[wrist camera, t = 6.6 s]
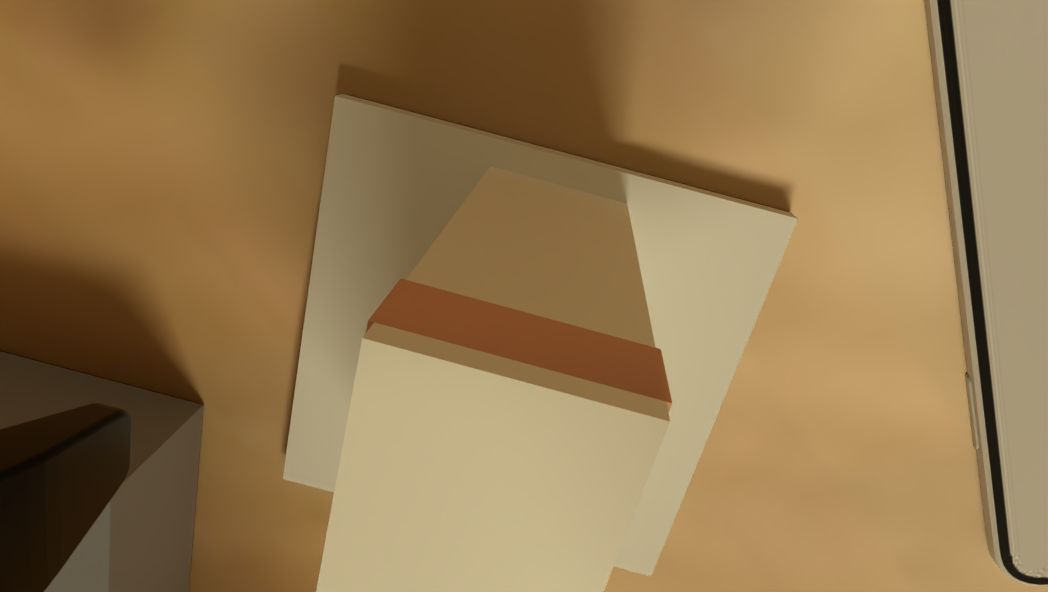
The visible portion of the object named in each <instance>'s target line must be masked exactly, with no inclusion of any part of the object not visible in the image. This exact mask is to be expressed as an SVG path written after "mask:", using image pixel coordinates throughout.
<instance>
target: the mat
mask: <svg viewBox="0 0 1048 592" xmlns="http://www.w3.org/2000/svg"><path fill="white" fill-rule="evenodd" d="M490 167H495V168H498V169H502V170H506V171H509V172H513V173H517V174H520V175H524V176H528V177H531V178H535V179H539V180H542V181H546V182H550V183H553V184H557V185H561V186H564V187H568V188H572V189H575V190H579V191H583V192H586V193H590V194H594V195H597V196H601V197H605V198H608V199H612V200H616V201H619V202H623V203H627V205H628V210H629V215H630V220H631V225H632V230H633V235H634V240H635V245H636V251H637V256H638V261H639V266H640V271H641V276H642V281H643V286H644V291H645V296H646V301H647V306H648V311H649V316H650V322H651V327H652V332H653V337H654V342H655V347H656V348H659V349H661V352H662V357H663V362H664V366H665V371H666V376H667V380H668V385H669V390H670V395H671V399H672V406H671V408H670V411H669V418H670V423H669V426H668V429H667V431H666V434H665V436H664V439H663V441H662V444H661V446H660V449H659V452H658V454H657V457H656V459H655V462H654V464H653V467H652V469H651V472H650V475H649V477H648V480H647V482H646V485H645V487H644V490H643V492H642V495H641V498H640V500H639V503H638V505H637V508H636V510H635V513H634V515H633V518H632V521H631V523H630V526H629V528H628V531H627V533H626V536H625V538H624V541H623V544H622V546H621V549H620V551H619V554H618V556H617V559H616V561H615V564H614V567H617V568H621V569H625V570H629V571H632V572H636V573H640V574H644V575H648V576H651V575H652V573H653V570H654V568H655V566H656V563H657V561H658V558H659V556H660V553H661V551H662V549H663V546H664V544H665V541H666V539H667V536H668V534H669V532H670V529H671V527H672V524H673V522H674V519H675V517H676V515H677V512H678V510H679V507H680V505H681V502H682V500H683V498H684V495H685V493H686V490H687V488H688V485H689V483H690V481H691V478H692V476H693V473H694V471H695V468H696V466H697V463H698V461H699V459H700V456H701V454H702V451H703V449H704V446H705V444H706V442H707V439H708V437H709V434H710V432H711V429H712V427H713V425H714V422H715V420H716V417H717V415H718V412H719V410H720V408H721V405H722V403H723V400H724V398H725V395H726V393H727V391H728V388H729V386H730V383H731V381H732V378H733V376H734V374H735V371H736V369H737V366H738V364H739V361H740V359H741V357H742V354H743V352H744V349H745V347H746V344H747V342H748V339H749V337H750V335H751V332H752V330H753V327H754V325H755V322H756V320H757V318H758V315H759V313H760V310H761V308H762V305H763V303H764V301H765V298H766V296H767V293H768V291H769V288H770V286H771V284H772V281H773V279H774V276H775V274H776V271H777V269H778V267H779V264H780V262H781V259H782V257H783V254H784V252H785V250H786V247H787V245H788V242H789V240H790V237H791V235H792V232H793V230H794V228H795V225H796V223H797V220H798V218H797V217H796V216H794V215H793V214H792V213H790V212H786V211H783V210H779V209H775V208H771V207H767V206H764V205H760V204H756V203H752V202H749V201H745V200H741V199H737V198H734V197H730V196H726V195H722V194H719V193H715V192H711V191H707V190H703V189H700V188H696V187H692V186H688V185H685V184H681V183H677V182H673V181H670V180H666V179H662V178H658V177H654V176H651V175H647V174H643V173H639V172H636V171H632V170H628V169H624V168H621V167H617V166H613V165H609V164H606V163H602V162H598V161H594V160H590V159H587V158H583V157H579V156H575V155H572V154H568V153H564V152H560V151H557V150H553V149H549V148H545V147H542V146H538V145H534V144H530V143H526V142H523V141H519V140H515V139H511V138H508V137H504V136H500V135H496V134H493V133H489V132H485V131H481V130H477V129H474V128H470V127H466V126H462V125H459V124H455V123H451V122H447V121H444V120H440V119H436V118H432V117H429V116H425V115H421V114H417V113H413V112H410V111H406V110H402V109H398V108H395V107H391V106H387V105H383V104H380V103H376V102H372V101H368V100H365V99H361V98H357V97H353V96H349V95H346V94H340V95H336V96H335V99H334V106H333V114H332V121H331V128H330V136H329V143H328V150H327V158H326V165H325V172H324V180H323V187H322V194H321V202H320V209H319V216H318V224H317V231H316V238H315V246H314V253H313V260H312V268H311V275H310V282H309V290H308V297H307V304H306V312H305V319H304V326H303V334H302V341H301V348H300V356H299V363H298V371H297V378H296V385H295V393H294V400H293V407H292V415H291V422H290V429H289V437H288V444H287V451H286V459H285V466H284V473H283V479H284V480H288V481H292V482H296V483H299V484H303V485H307V486H311V487H315V488H318V489H322V490H326V491H330V492H333V493H334V491H335V485H336V480H337V474H338V469H339V463H340V458H341V452H342V447H343V441H344V436H345V430H346V425H347V419H348V414H349V408H350V403H351V397H352V392H353V386H354V380H355V375H356V369H357V364H358V358H359V353H360V347H361V342H362V338H363V336H364V335H365V334H366V328H367V323H368V320H369V319H370V317H371V316H372V315H373V313H374V312H375V311H376V310H377V308H378V307H379V306H380V304H381V303H382V302H383V300H384V299H385V298H386V297H387V295H388V294H389V293H390V291H391V290H392V289H393V288H394V286H395V285H396V284H397V282H398V281H399V280H400V278H401V279H405V280H406V279H407V278H408V276H409V275H410V274H411V272H412V271H413V270H414V268H415V267H416V266H417V264H418V263H419V262H420V260H421V259H422V258H423V256H424V255H425V254H426V252H427V251H428V249H429V248H430V247H431V245H432V244H433V243H434V241H435V240H436V239H437V237H438V236H439V235H440V233H441V232H442V231H443V229H444V228H445V227H446V225H447V224H448V223H449V221H450V220H451V219H452V217H453V216H454V215H455V213H456V212H457V211H458V209H459V208H460V207H461V205H462V204H463V203H464V201H465V200H466V199H467V197H468V196H469V195H470V193H471V192H472V191H473V189H474V188H475V187H476V185H477V184H478V183H479V181H480V180H481V179H482V177H483V176H484V175H485V173H486V172H487V171H488V169H489V168H490Z"/></svg>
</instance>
